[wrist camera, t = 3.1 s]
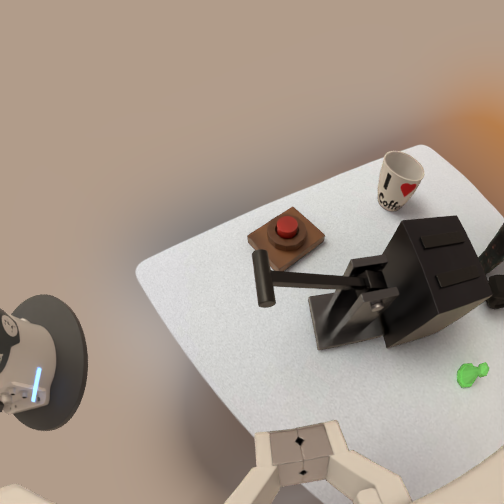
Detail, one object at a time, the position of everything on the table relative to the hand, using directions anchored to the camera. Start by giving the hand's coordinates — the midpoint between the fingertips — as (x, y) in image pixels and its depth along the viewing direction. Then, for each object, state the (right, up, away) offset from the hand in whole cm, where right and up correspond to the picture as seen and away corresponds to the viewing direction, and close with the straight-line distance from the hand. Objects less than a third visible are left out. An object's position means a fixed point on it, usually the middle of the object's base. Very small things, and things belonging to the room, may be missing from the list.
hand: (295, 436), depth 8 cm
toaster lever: (+5, +3, +19) cm, 20 cm away
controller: (+44, -3, +28) cm, 53 cm away
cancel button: (+4, +10, +35) cm, 37 cm away
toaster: (+23, -2, +30) cm, 38 cm away
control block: (+4, +9, +38) cm, 39 cm away
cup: (+26, +17, +42) cm, 52 cm away
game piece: (+33, -13, +23) cm, 42 cm away
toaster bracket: (+12, -3, +30) cm, 33 cm away
